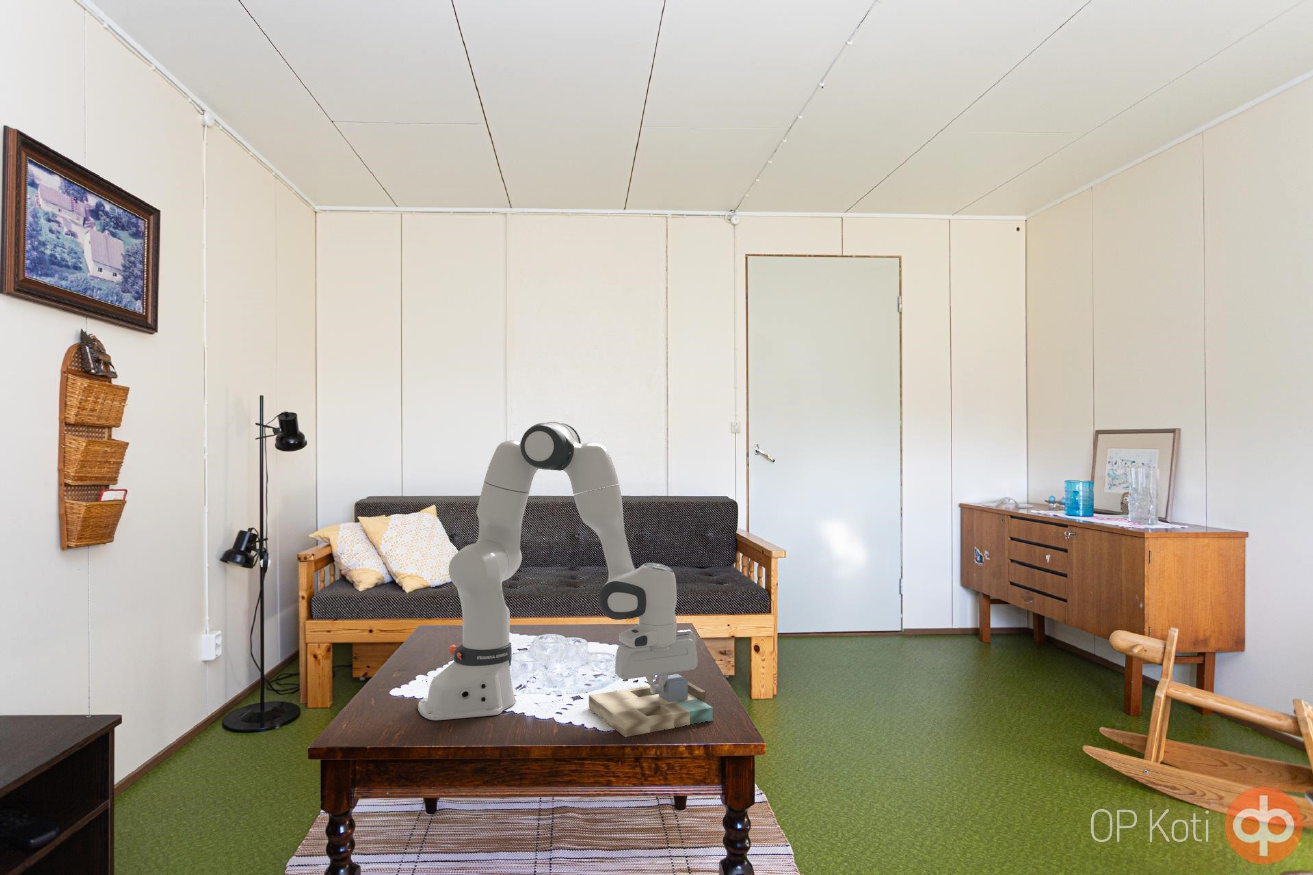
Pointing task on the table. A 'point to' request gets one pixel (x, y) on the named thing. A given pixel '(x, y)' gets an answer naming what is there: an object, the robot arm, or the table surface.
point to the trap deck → (649, 710)
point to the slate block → (675, 688)
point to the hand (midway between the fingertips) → (656, 692)
